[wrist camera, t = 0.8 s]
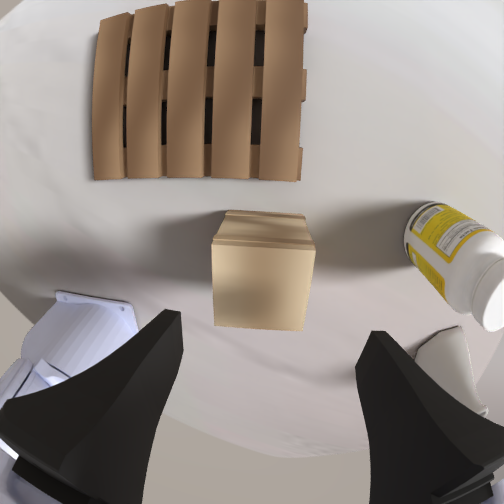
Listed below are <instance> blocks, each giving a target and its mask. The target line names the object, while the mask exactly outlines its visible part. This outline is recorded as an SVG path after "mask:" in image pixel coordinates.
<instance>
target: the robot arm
mask: <svg viewBox="0 0 504 504" xmlns="http://www.w3.org/2000/svg"><path fill="white" fill-rule="evenodd" d="M55 296H56V299H57V302H56V303H55V304H54V305H53V306H52V307H51V308H50V309H49V310H48V311H47V312H46V313H45V314H44V315H43V317H42V318H41V319H40V320H39V321H38V322H37V323H36V324H35V325H34V326H33V327H32V329H31V330H30V331H29V332H28V333H27V335H26V337H25V339H24V341H23V345H22V349H21V358H19V359H17V360H16V361H15V362H14V363H13V364H12V365H11V366H10V368H9V369H8V370H7V371H6V372H5V373H4V375H3V376H2V377H1V378H0V504H142V497H143V490H144V484H145V478H146V472H147V466H148V462H149V457H150V452H151V448H152V444H153V440H154V436H155V432H156V428H157V425H158V422H159V419H160V416H161V414H162V411H163V409H164V406H165V404H166V401H167V399H168V396H169V394H170V391H171V389H172V386H173V384H174V381H175V379H176V376H177V374H178V370H179V367H180V363H181V359H182V355H183V351H184V349H183V338H182V325H181V312H180V311H174V310H168V309H165V310H163V311H162V312H161V313H160V314H158V315H157V316H156V317H155V318H154V319H153V320H152V321H151V322H149V323H148V324H147V325H146V326H145V327H144V328H142V329H141V330H140V331H139V330H138V326H137V322H136V318H135V314H134V310H133V307H132V305H131V304H129V303H125V302H119V301H112V300H106V299H100V298H94V297H88V296H83V295H77V294H72V293H67V292H61V291H57V292H56V293H55ZM122 307H123V308H122ZM355 370H356V381H357V389H358V393H359V398H360V402H361V406H362V411H363V415H364V419H365V424H366V428H367V433H368V439H369V447H370V462H371V486H370V501H369V504H504V479H502V480H501V481H499V482H497V483H496V484H494V485H493V486H491V484H490V481H492V480H493V479H494V475H493V472H494V471H495V470H497V469H498V468H499V467H501V466H502V465H503V464H504V427H503V426H500V425H498V424H496V423H493V422H492V421H490V420H488V419H486V418H484V417H482V416H480V415H479V414H477V413H475V412H474V411H472V410H471V409H469V408H468V407H466V406H465V405H463V404H462V403H460V402H459V401H458V400H456V399H455V398H454V397H453V396H451V395H450V394H449V393H448V392H446V391H445V390H444V389H443V388H442V387H440V386H439V385H438V384H437V383H436V382H435V381H434V380H433V379H432V378H431V377H430V376H429V375H428V374H427V373H426V372H425V371H424V370H423V369H422V368H421V367H420V366H419V365H418V364H417V363H416V362H415V361H414V360H413V359H412V358H411V357H410V356H409V355H408V354H407V353H406V352H405V351H404V349H403V348H402V347H401V346H400V345H399V344H398V343H397V342H396V341H395V340H394V339H393V338H392V337H391V336H390V335H389V334H388V333H387V332H386V331H371V333H370V336H369V338H368V340H367V342H366V345H365V347H364V349H363V351H362V353H361V355H360V358H359V360H358V362H357V364H356V366H355Z"/></svg>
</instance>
